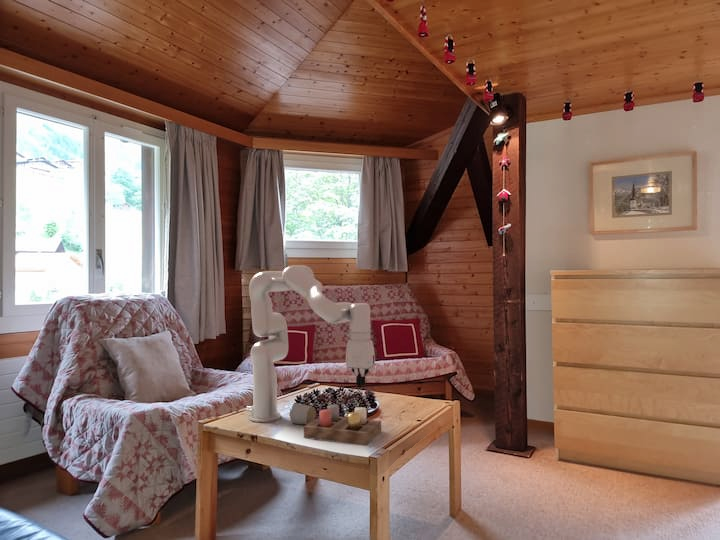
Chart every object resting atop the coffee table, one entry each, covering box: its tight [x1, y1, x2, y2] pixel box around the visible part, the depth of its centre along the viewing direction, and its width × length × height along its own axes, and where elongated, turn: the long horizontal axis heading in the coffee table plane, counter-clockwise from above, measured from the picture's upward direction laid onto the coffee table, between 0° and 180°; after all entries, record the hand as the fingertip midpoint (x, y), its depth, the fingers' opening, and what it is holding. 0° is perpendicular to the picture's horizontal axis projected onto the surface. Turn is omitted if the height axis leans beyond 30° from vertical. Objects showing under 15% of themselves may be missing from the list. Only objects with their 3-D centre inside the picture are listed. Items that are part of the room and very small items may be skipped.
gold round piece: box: [347, 411, 360, 430], centre depth 183 cm, size 4×4×5 cm
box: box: [303, 416, 382, 446], centre depth 188 cm, size 24×16×4 cm, turn 70°
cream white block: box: [354, 406, 368, 425], centre depth 189 cm, size 4×4×5 cm
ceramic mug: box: [289, 402, 317, 426], centre depth 203 cm, size 11×8×8 cm
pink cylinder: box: [318, 408, 332, 427], centre depth 186 cm, size 4×4×5 cm
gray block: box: [326, 404, 340, 422], centre depth 193 cm, size 4×4×5 cm
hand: (360, 386), depth 189 cm, fingers closed
